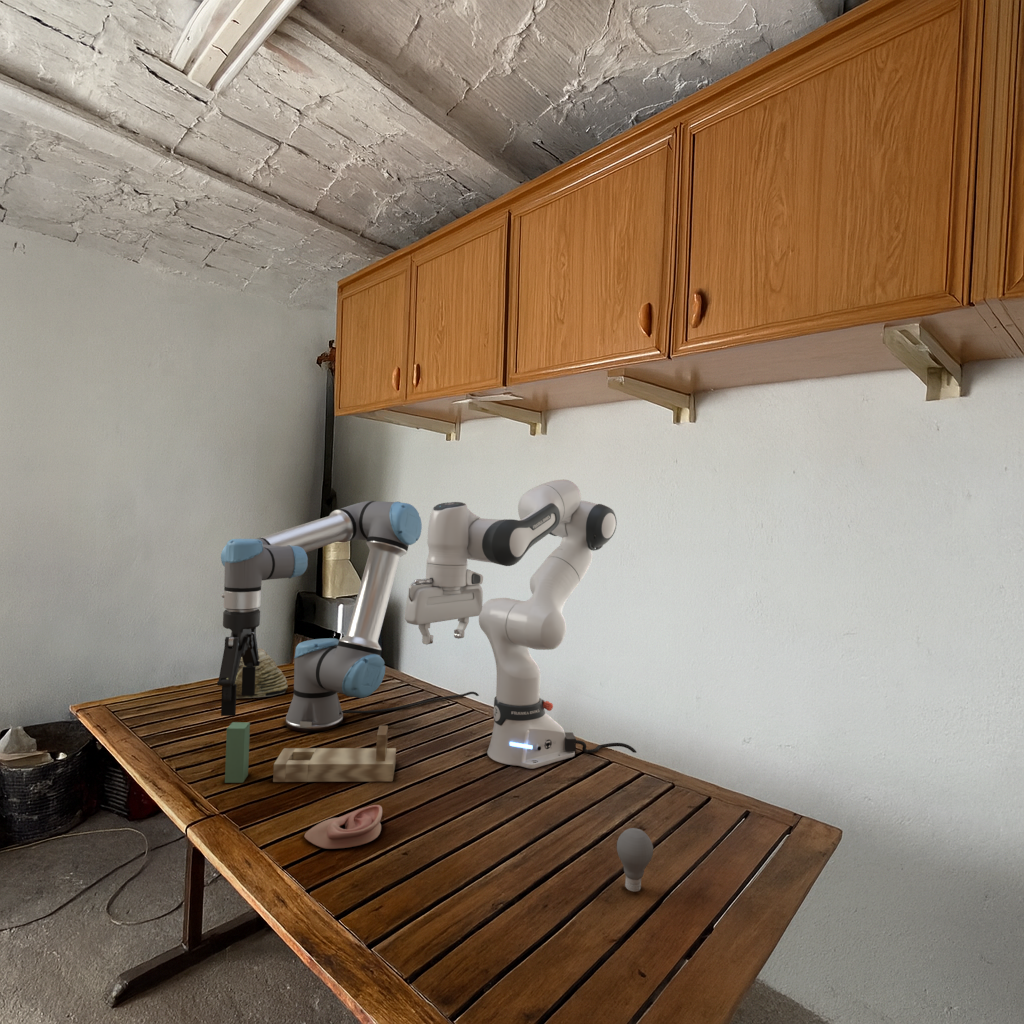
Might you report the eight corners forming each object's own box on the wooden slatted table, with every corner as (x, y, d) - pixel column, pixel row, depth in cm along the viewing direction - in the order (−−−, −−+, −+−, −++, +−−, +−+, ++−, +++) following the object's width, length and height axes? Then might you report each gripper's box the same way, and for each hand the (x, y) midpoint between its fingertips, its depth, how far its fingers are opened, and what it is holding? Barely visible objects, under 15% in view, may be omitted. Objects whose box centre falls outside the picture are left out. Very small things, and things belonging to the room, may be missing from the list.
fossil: (219, 695, 195) (221, 647, 195) (279, 686, 207) (281, 640, 207) (229, 703, 188) (231, 653, 188) (290, 693, 201) (292, 646, 200)
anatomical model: (296, 822, 115) (327, 794, 126) (295, 844, 115) (326, 814, 126) (364, 833, 112) (389, 803, 124) (363, 855, 112) (388, 823, 124)
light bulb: (610, 878, 109) (613, 821, 108) (645, 878, 109) (647, 821, 109) (619, 901, 103) (622, 840, 103) (655, 900, 103) (658, 839, 103)
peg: (230, 775, 142) (232, 722, 142) (248, 775, 142) (250, 722, 142) (224, 782, 138) (226, 728, 138) (242, 782, 139) (244, 728, 138)
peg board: (272, 782, 140) (274, 737, 139) (283, 764, 148) (284, 722, 148) (392, 781, 142) (394, 737, 142) (395, 764, 151) (397, 723, 151)
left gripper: (242, 599, 151) (239, 687, 152) (202, 619, 127) (199, 724, 127) (274, 600, 152) (271, 687, 153) (241, 620, 128) (238, 725, 128)
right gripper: (420, 581, 127) (417, 650, 127) (488, 575, 143) (485, 637, 143) (399, 578, 131) (396, 644, 131) (468, 573, 147) (465, 632, 147)
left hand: (238, 704), depth 140 cm, fingers open, 13 cm apart
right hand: (443, 640), depth 137 cm, fingers open, 8 cm apart
